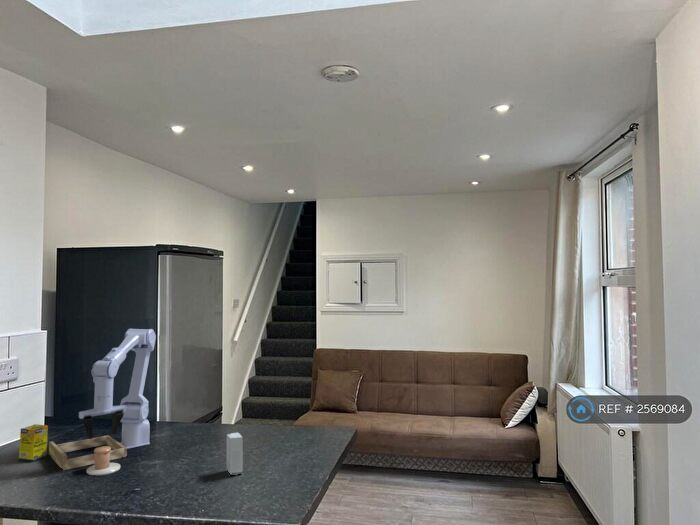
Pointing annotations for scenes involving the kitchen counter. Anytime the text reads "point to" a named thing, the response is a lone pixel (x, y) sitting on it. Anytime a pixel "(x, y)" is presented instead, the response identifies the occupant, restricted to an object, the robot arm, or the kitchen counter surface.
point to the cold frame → (61, 457)
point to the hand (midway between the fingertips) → (102, 436)
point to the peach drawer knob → (102, 457)
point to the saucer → (111, 469)
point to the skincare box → (234, 453)
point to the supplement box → (33, 442)
